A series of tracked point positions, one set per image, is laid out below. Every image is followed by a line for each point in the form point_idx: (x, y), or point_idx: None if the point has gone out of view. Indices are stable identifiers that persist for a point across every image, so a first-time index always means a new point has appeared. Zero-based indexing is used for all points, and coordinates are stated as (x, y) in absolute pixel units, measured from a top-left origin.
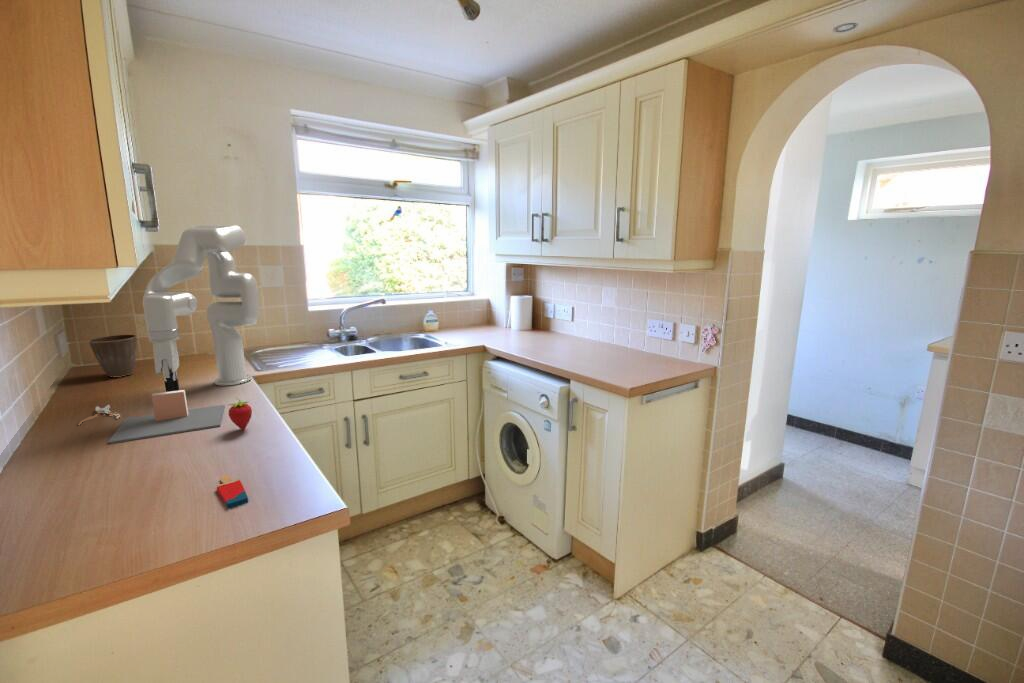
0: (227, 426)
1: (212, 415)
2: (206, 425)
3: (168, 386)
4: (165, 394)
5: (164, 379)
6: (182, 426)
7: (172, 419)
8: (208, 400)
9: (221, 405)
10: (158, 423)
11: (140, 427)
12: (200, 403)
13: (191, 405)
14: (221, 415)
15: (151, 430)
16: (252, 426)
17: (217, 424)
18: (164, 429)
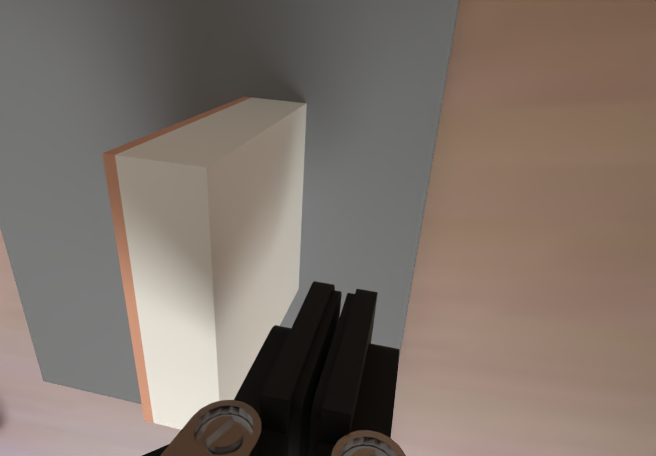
0: (45, 393)
1: None
2: (46, 337)
3: (255, 366)
4: (125, 285)
5: (178, 436)
6: (64, 245)
7: None
8: (619, 414)
9: None
10: (172, 119)
11: (128, 1)
12: (576, 367)
13: (569, 316)
14: None
15: (44, 86)
16: (20, 452)
17: (48, 374)
18: (42, 158)
